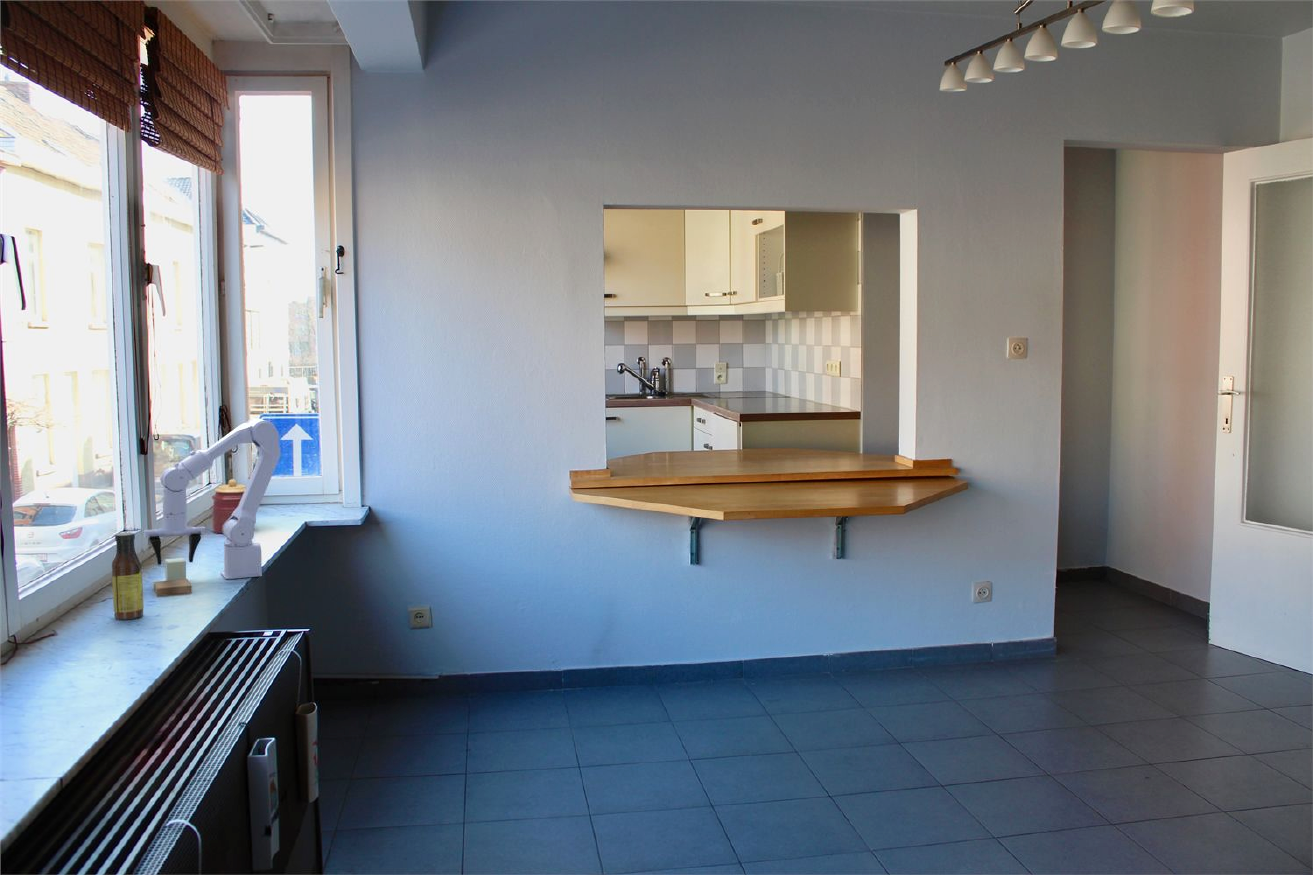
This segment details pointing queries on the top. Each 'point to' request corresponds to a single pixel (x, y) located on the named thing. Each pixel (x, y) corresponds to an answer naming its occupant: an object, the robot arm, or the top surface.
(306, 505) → the top surface
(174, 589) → the walnut base block
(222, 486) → the canister
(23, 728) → the top surface
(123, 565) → the sauce bottle
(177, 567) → the sage block
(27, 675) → the top surface
